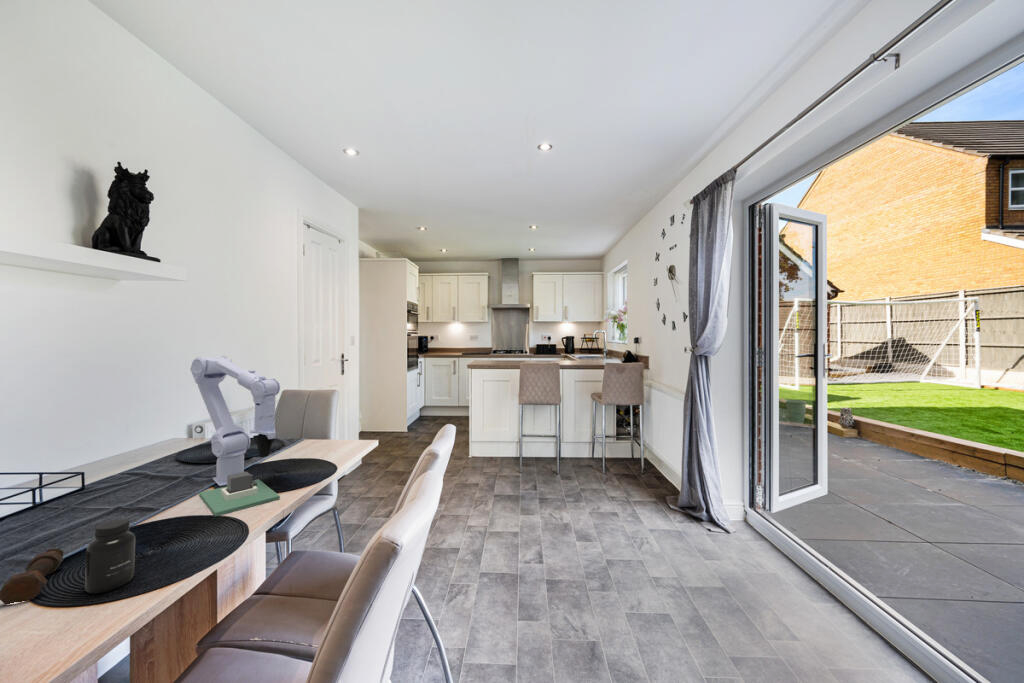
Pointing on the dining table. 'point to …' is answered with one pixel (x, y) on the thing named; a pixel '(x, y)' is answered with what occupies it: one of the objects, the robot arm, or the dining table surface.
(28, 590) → the brown elongated piece
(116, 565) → the supplement bottle
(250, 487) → the plug
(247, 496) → the header board
